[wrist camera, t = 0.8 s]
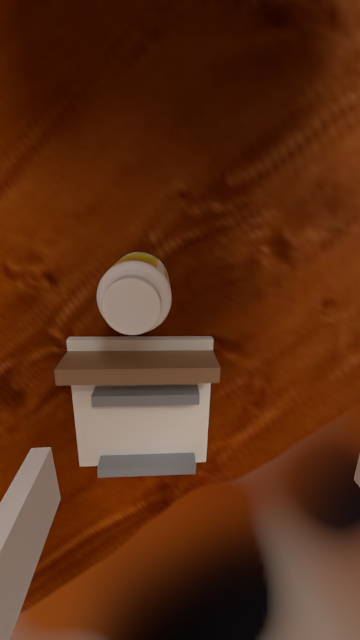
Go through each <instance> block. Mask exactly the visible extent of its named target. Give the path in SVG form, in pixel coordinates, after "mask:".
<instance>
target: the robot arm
mask: <svg viewBox="0 0 360 640" xmlns="http://www.w3.org/2000/svg"><path fill="white" fill-rule="evenodd" d="M354 480H355V481H356V483H357V484H358V485H359V487H360V455H359V459H358V464H357V468H356V472H355V476H354ZM60 499H61V497H60V491H59V486H58V481H57V476H56V471H55V466H54V461H53V455H52V450H51V447H43V448H31V449H30V451H29V453H28V455H27V457H26V458H25V460H24V462H23V464H22V465H21V467H20V469H19V471H18V472H17V474H16V476H15V478H14V479H13V481H12V483H11V485H10V487H9V488H8V490H7V492H6V494H5V495H4V497H3V499H2V501H1V502H0V640H10V639H11V636H12V633H13V631H14V628H15V625H16V622H17V619H18V617H19V614H20V611H21V608H22V606H23V603H24V600H25V597H26V594H27V592H28V589H29V586H30V583H31V580H32V578H33V575H34V572H35V569H36V566H37V564H38V561H39V558H40V555H41V552H42V550H43V547H44V544H45V541H46V538H47V536H48V533H49V530H50V527H51V525H52V522H53V519H54V516H55V513H56V511H57V508H58V505H59V502H60Z"/></svg>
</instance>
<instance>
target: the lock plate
mask: <svg viewBox="0 0 360 640" xmlns="http://www.w3.org/2000/svg"><path fill="white" fill-rule="evenodd" d="M213 342H214V339H213V337H212V336H107V337H68V339H67V340H66V343H67V352H66V354H65V355H64V357H63V358H62V359H61V361H60V362H59V363H58V365H57V366H56V367H55V369H54V375H55V383H56V386H64V385H71V390H72V399H73V409H74V418H75V427H76V437H77V446H78V455H79V465H80V467H82V466H98V467H97V475H98V478H105V477H131V476H157V475H183V474H196V462H206V453H207V437H208V421H209V406H210V390H211V383H220V369H221V368H220V365H219V363H218V361H217V358H216V356H215V354H214V351H213Z"/></svg>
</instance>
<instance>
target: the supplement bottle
mask: <svg viewBox="0 0 360 640" xmlns="http://www.w3.org/2000/svg"><path fill="white" fill-rule="evenodd" d="M171 302H172V294H171V288H170V282H169V277H168V273H167V270H166V268H165V266H164V265H163V264H162V262H161V261H160V260H159V259H158V258H156V257H155V256H153V255H151V254H148V253H145V252H133V253H130V254H127V255H125V256H124V257H122V258H121V259H120V260H119V261H118V262H116V263H115V264H114V265H113V266H112V267H111V268H110V269H109V270H108V271H107V272H106V273H105V274H104V275H103V277H102V279H101V280H100V282H99V285H98V288H97V304H98V308H99V311H100V313H101V314H102V316H103V318H104V319H105V320H106V322H107V323H108V324H109V325H110V326H111V327H112V328H113V329H114V330H116V331H117V332H119V333H122V334H126V335H138V334H142V333H145V332H148V331H150V330H152V329H154V328H156V327H157V326H159V325H160V324H161V323H162V322H163V321H164V319H165V318H166V317H167V315H168V313H169V310H170V307H171Z"/></svg>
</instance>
